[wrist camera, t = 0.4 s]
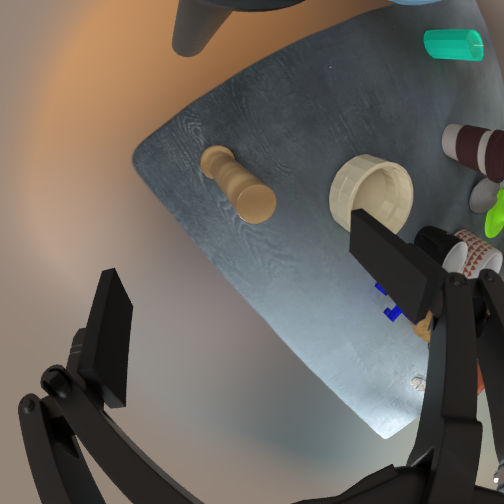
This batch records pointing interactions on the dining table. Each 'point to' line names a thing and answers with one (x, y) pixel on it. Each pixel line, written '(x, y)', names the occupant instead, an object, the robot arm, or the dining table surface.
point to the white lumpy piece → (417, 381)
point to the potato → (423, 327)
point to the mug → (442, 247)
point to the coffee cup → (476, 149)
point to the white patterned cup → (478, 255)
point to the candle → (454, 44)
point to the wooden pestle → (238, 185)
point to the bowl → (372, 191)
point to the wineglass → (495, 217)
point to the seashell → (484, 196)
